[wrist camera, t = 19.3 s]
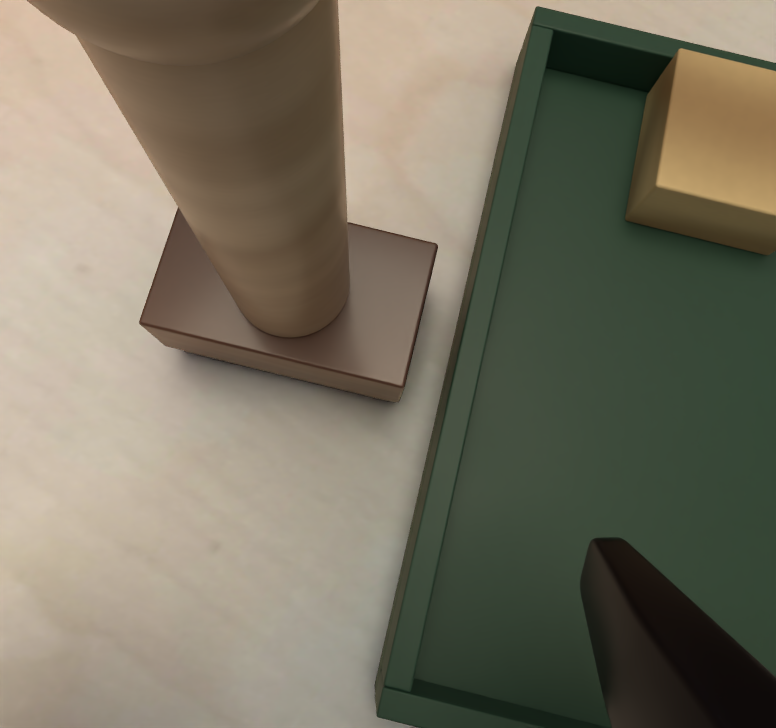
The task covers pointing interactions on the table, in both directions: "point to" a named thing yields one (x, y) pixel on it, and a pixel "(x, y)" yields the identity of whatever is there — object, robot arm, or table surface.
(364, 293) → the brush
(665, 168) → the golden tan square block
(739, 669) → the robot arm
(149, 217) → the table surface
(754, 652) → the tray
